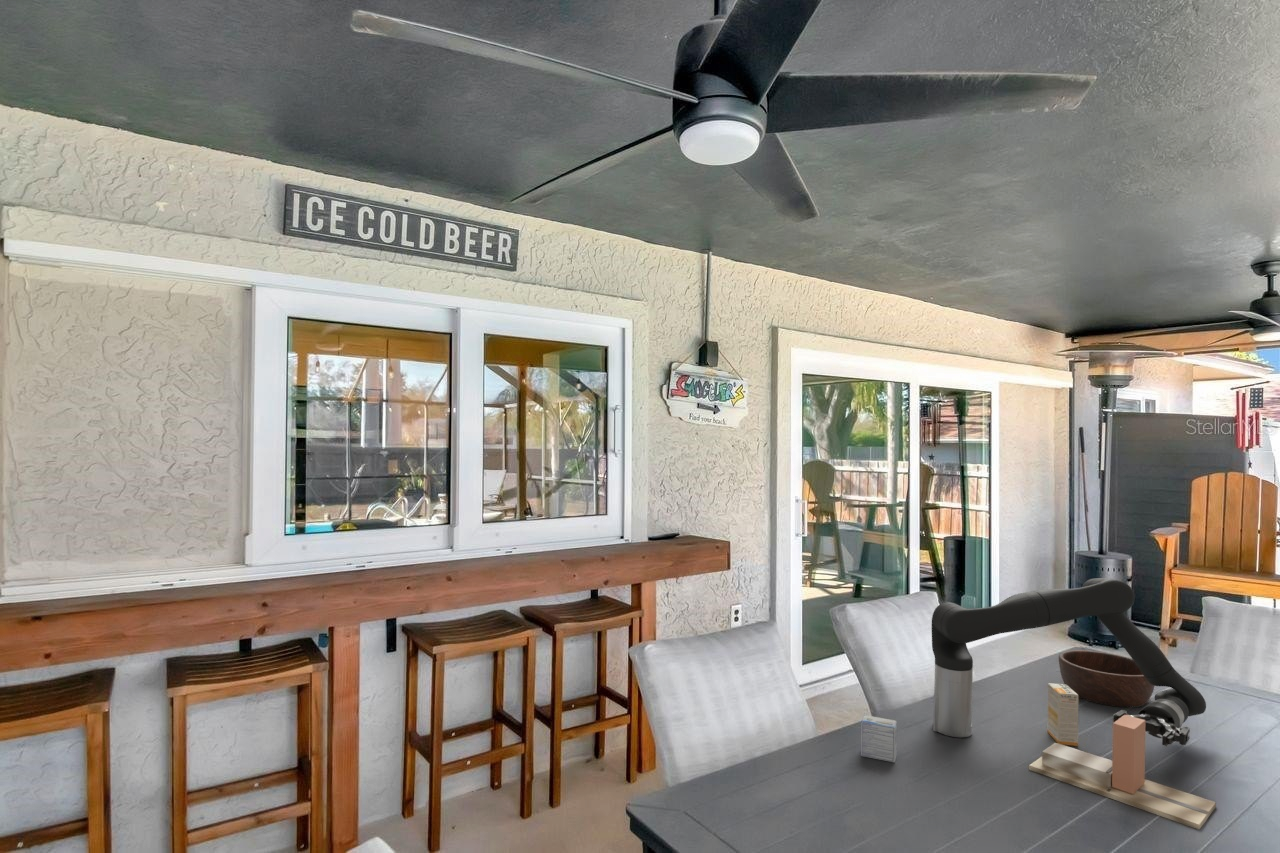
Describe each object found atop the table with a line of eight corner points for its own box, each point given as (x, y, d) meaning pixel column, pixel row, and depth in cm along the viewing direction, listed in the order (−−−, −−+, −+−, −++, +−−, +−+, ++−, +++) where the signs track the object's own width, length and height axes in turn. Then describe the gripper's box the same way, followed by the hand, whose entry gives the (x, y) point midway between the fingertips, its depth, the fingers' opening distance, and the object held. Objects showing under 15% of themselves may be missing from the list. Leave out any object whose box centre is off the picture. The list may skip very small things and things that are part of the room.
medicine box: (896, 756, 172) (897, 720, 172) (895, 763, 168) (895, 727, 168) (862, 749, 175) (863, 714, 175) (860, 756, 171) (861, 720, 171)
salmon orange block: (1112, 786, 156) (1112, 723, 156) (1123, 776, 161) (1124, 714, 161) (1133, 794, 153) (1134, 729, 153) (1144, 783, 158) (1145, 720, 158)
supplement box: (1079, 746, 179) (1079, 695, 179) (1058, 744, 180) (1058, 693, 180) (1066, 733, 187) (1067, 683, 187) (1046, 731, 188) (1047, 682, 188)
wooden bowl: (1044, 679, 230) (1044, 647, 230) (1127, 684, 226) (1128, 652, 227) (1081, 708, 205) (1081, 673, 205) (1175, 715, 202) (1175, 678, 202)
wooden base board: (1029, 769, 166) (1029, 751, 166) (1052, 753, 175) (1052, 736, 175) (1199, 829, 141) (1199, 808, 141) (1215, 806, 150) (1216, 787, 151)
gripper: (1128, 693, 179) (1106, 708, 169) (1198, 711, 168) (1180, 728, 158) (1127, 723, 179) (1106, 740, 168) (1197, 743, 168) (1179, 762, 158)
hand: (1141, 734), depth 163 cm, fingers open, 8 cm apart
